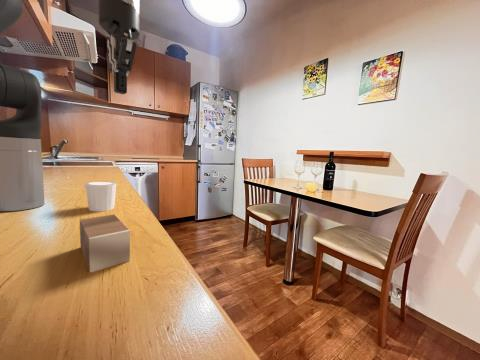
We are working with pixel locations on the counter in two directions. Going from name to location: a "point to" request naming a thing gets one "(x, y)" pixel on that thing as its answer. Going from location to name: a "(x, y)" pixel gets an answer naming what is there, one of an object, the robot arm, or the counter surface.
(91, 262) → the greyish brown block
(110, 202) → the shot glass
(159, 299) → the counter surface
